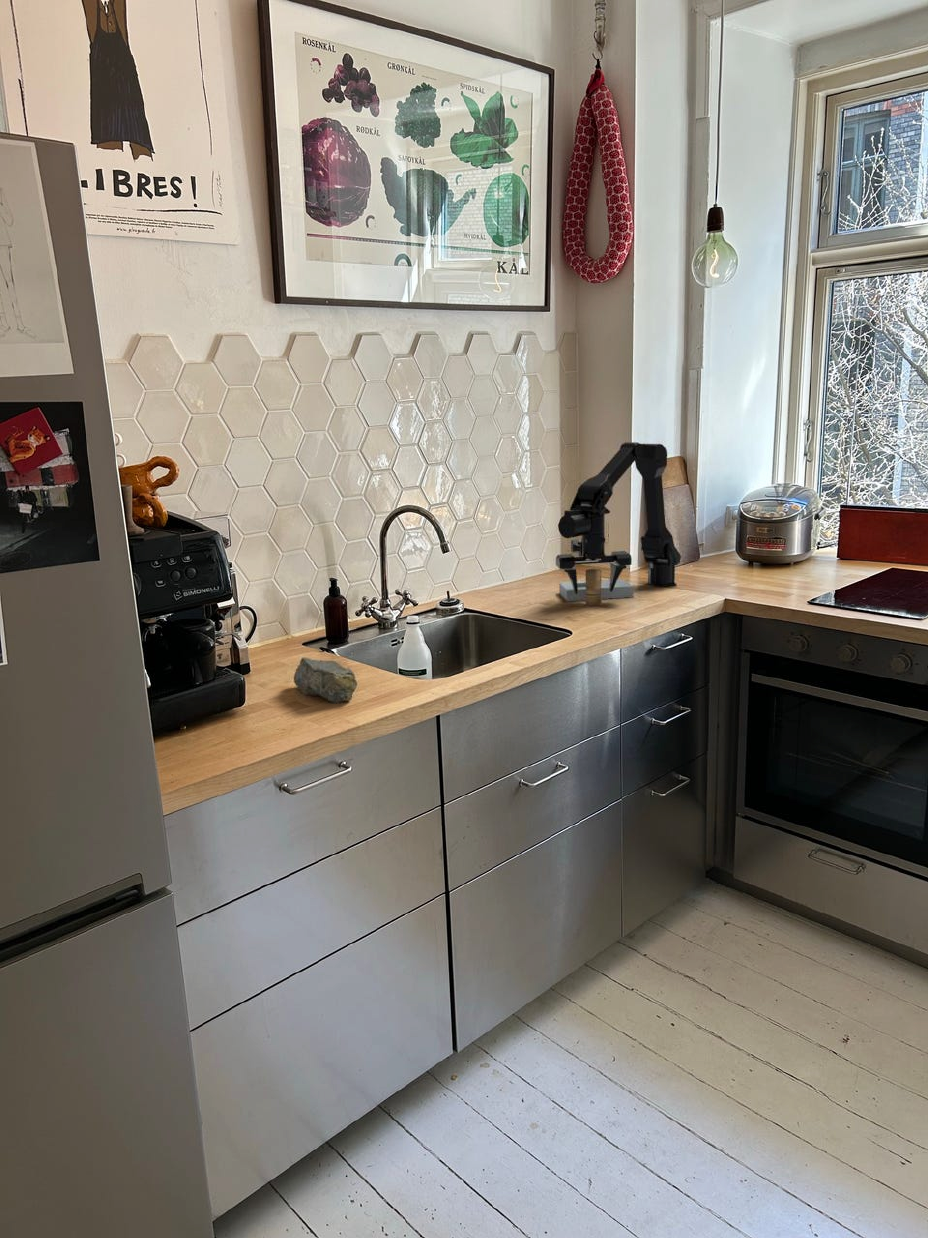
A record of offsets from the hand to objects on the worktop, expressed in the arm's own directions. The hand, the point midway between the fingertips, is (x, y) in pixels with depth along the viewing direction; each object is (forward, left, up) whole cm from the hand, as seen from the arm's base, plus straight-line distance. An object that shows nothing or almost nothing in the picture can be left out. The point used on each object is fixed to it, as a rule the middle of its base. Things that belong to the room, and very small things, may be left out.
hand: (593, 592), depth 230 cm
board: (-3, -10, -3) cm, 11 cm away
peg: (0, 0, -3) cm, 3 cm away
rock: (+66, +58, -4) cm, 88 cm away
